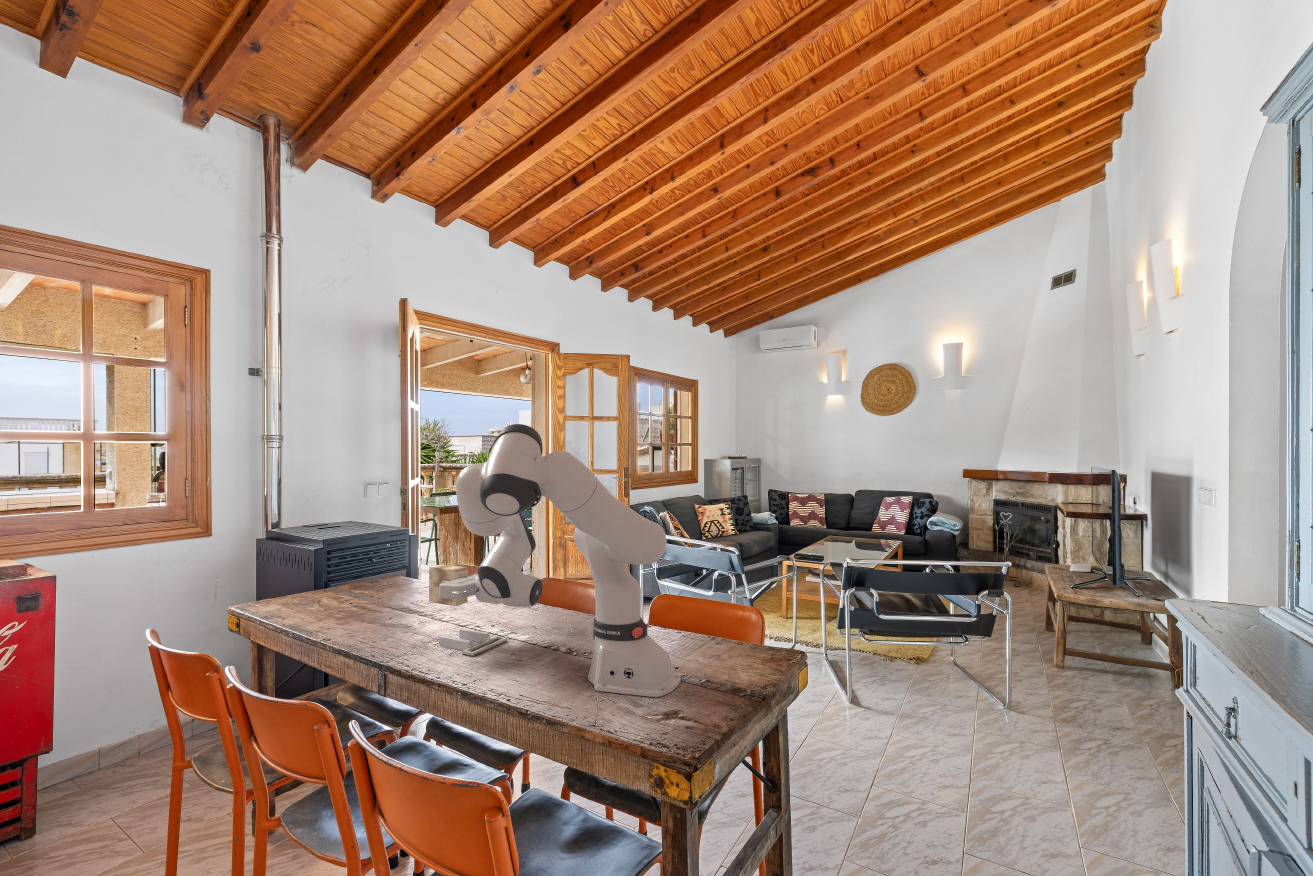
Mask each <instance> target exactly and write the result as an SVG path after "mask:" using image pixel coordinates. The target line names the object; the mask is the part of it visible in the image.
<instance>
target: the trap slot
mask: <svg viewBox="0 0 1313 876" xmlns="http://www.w3.org/2000/svg"><path fill="white" fill-rule="evenodd" d="M507 641H508V637H505V636H498V635H497V636H494V637H492V638H491V637H490V639H489V640H487V641H484V642H480V643H478V644H476V645H473V646H471V648H468V649H466V650H464V651H462V650H461V651H462V654H461V655H463V656H465V657H476V656H477V655H480V654H481V653H484V652H487V651H489V650H491V649H493V648H495V647H498V646H499V645H503V644H504V643H506V642H507Z"/></svg>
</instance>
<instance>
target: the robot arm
mask: <svg viewBox="0 0 1313 876" xmlns="http://www.w3.org/2000/svg"><path fill="white" fill-rule="evenodd" d="M542 441H543V440H542V438H541V435H540V434H539V432H538V431H537V430H536V429H535V428H533V427H531V426H529V425H526V424H523V423H514V424H509V425H507V426H505V427H504V428H503V429H501V431H500V432H499V434H498V435H497V436H496V437H495V440H494V441H493V443H492V444H491V446H490V448H489V449H488V453H489V455H488V459H487V460H486V461H485V462H478V463H472V464H469V465H467V466H465V467H464V468H463V469H462V470H461V471H460V472H459V474H458V475H457V478H456V482H455V483H456V484H455V493H456V502H457V507H458V511H459V514H460V518H461V521H462V523H463V524H464V526H465V527H466V529H467V530H468V531H469V532H470V533H472V534H474V535H476V536H480V537H492V536H496V535H498V534H499V536H498V538H497V539H496V541H495V542H494V544H493V545H492V546H491V548H490V550H489V551H488V553H487V554H486V555H485V557H484V559H483V560H482V562H481V563H480V565H479V567H478V568H477V573H473V574H471V575H468V576H467V577H463V578H459V579H456V580H452V581H450V580H445V581H442V583H441V584H440V585H439V596H440V597H442V598H451V599H462V598H466V597H468V598H469V597H473V596H475V599H476V600H477V601H478V602H480V603H485V604H492V605H501V604H503V605H504V606H507V607H511V608H531V607H534V606H535V605H536V604H537V603H538V602H539V600H540V598H541V596H542V594H543V589H544V587H543V581H542V579H541V578H539V577H538V576H534V575H529V574H525V573H523V572H522V569H523V568H524V566H525V564H526V562H527V561H528V559H529V557H530V556H531V555H532V553H533V552H534V551H535V549H536V547H537V545H536V539H535V537H534V534H533V533H532V531H531V530H530V529H529V528H528V526H527V524H526V523H527V522H526V521H525V518H524V515H523V512H526V510H528V509H529V508H535V507H536V506H537V505H538V504H539V503H540V501H541V499H542V497H545V498H546V499H548V501H550V502H551V503H552V504H553V506H554V507H555V508H557V510H558V511H559V512H560V513H561V514H562V515H563V516H564V517H565V518H566V519H567V520H568V521H569V522H570V523H571V524H572V525H573V526H574V533H573V541H574V544H575V547H576V549H577V550H578V551H579V552H580V553H581V554H582V556H583V557H584V559H585V561H586V562H587V565H588V567H589V571H590V572H591V573H590V574H591V576H592V580H593V584H594V597H595V608H594V609H595V612H594V613H595V617H594V618H593V623H592V624H593V627H592V628H593V630H592V632H593V633H592V635H593V640H594V641H593V642H594V643H593V649H592V650H593V651H592V657H591V663H590V667H589V671H588V675H587V680H588V681H589V682H590V683H591V684H592V685H593V686H594V687H593V688H594V690H595V691H597V692H603V693H604V692H605V693H614V694H624V695H632V696H640V697H641V696H642V697H652V698H658V697H662V696H665V695H668V694H670V693H671V692H673V691H674V690H675V689H677V688H678V687H679V685H680V684H681V683H682V678H681V673H679V672H678V671H676V670H675V671H674V670H672V663H671V662H672V661H671V657H670V655H669V654H670V653H668V652H667V651H666V649H664V648H663V647H662V646H661V645H659V644H658V642H656V641H655V640H654V639H653V638H652V637H651V636H650V635H649V634H648V629H649V628H650V627H651V625H650V624H651V621H648V622H645V621H644V619H643V617H642V589H641V585H640V583H639V581H637V579H636V578H635V577H634V576H633V575H632V574H631V572H630V571H629V568H628V566H627V564H629V565H635V566H640V565H641V566H642V565H650V564H651V565H652V564H656V563H657V562H658V561H659V560H660V559H661V558H662V557H663V555H664V554H665V551H666V549H667V535H666V531H665V529H664V528H663V527H662V525H660V524H659V523H657V522H656V521H652V520H650V519H648V518H647V517H644V516H643V515H641V514H640V513H638V512H636V510H634V509H632V508H631V507H629V506H628V505H626V504H625V503H624V502H622V501H621V500H619V499H618V498H617V497H615V496H614V495H613V494H612V493H611V492H610V491H609V490H608V489H607V488H606V486H605V485H604V484H603V483H602V482H601V481H600V480H599V479H598V478H597V476H596V475H595V474H594V473H593V472H592V471H591V470H590V469H589V468H588V466H586V465H585V464H584V462H582V461H580V460H579V459H578V458H577V457H575V456H574V455H573V454H571V453H570V452H568V451H566V450H556V451H552V452H550V453H548V454H547V455H545V456H543V455H542V454H543V442H542Z"/></svg>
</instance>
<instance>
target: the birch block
mask: <svg viewBox="0 0 1313 876" xmlns="http://www.w3.org/2000/svg"><path fill="white" fill-rule="evenodd" d="M428 571H429V572H428V573H429V575H428V578H429V580H428V584H429V585H428V602H429V603H431V604H438V605H445V606H450V607H451V606H453V607H458V606H461V605H465V604H468V598H469V597H466V598H462V599H451V598H442V597H440V596H439V585H440V584H441V583H442V581H445V580H450V581H452V580H456V579H459V578H463V577H467V576H469V568H468V566H461V565H460V566H459V565H453V564H452V565H450V564H436V565H433V566H429V568H428Z"/></svg>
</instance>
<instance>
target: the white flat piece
mask: <svg viewBox="0 0 1313 876" xmlns="http://www.w3.org/2000/svg"><path fill="white" fill-rule="evenodd" d="M490 634H491V632H487V631H486V632H485V631H482V630H475V629H469V628H464V627H463V628H459V638H457V637H452V636H448V635H447V636H446V635H441V636H439V647H443V648H449V649H452V650H453V649H454V650H458V651H464V650H466V649H468V648H471V647H472V641H473V642H478V643H479V642H480V643H482V642H484V641H487V640H489V639H491V635H490Z"/></svg>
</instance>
